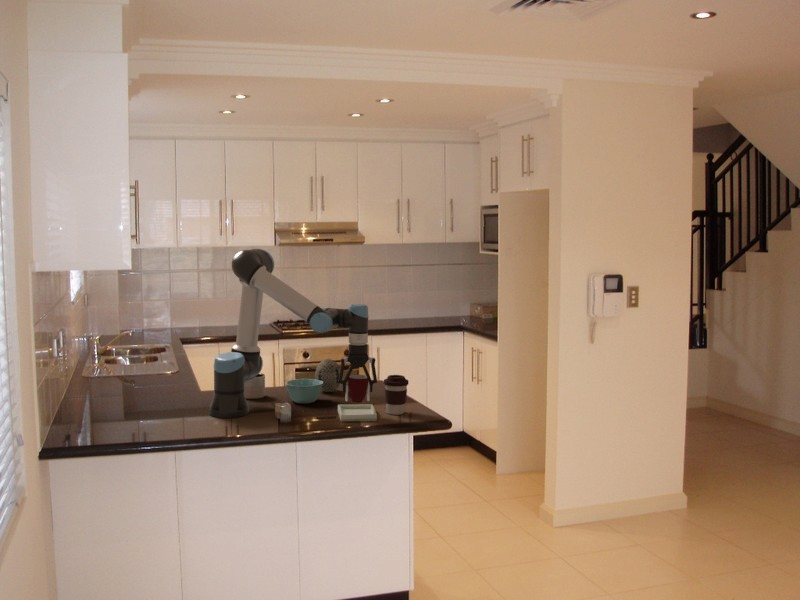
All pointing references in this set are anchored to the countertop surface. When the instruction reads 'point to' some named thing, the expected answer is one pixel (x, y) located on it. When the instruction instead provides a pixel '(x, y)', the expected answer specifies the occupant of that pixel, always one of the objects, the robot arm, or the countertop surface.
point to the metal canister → (285, 413)
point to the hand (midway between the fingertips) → (357, 400)
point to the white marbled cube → (277, 409)
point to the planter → (255, 387)
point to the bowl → (304, 390)
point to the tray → (357, 412)
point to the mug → (357, 387)
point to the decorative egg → (328, 375)
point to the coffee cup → (395, 394)
